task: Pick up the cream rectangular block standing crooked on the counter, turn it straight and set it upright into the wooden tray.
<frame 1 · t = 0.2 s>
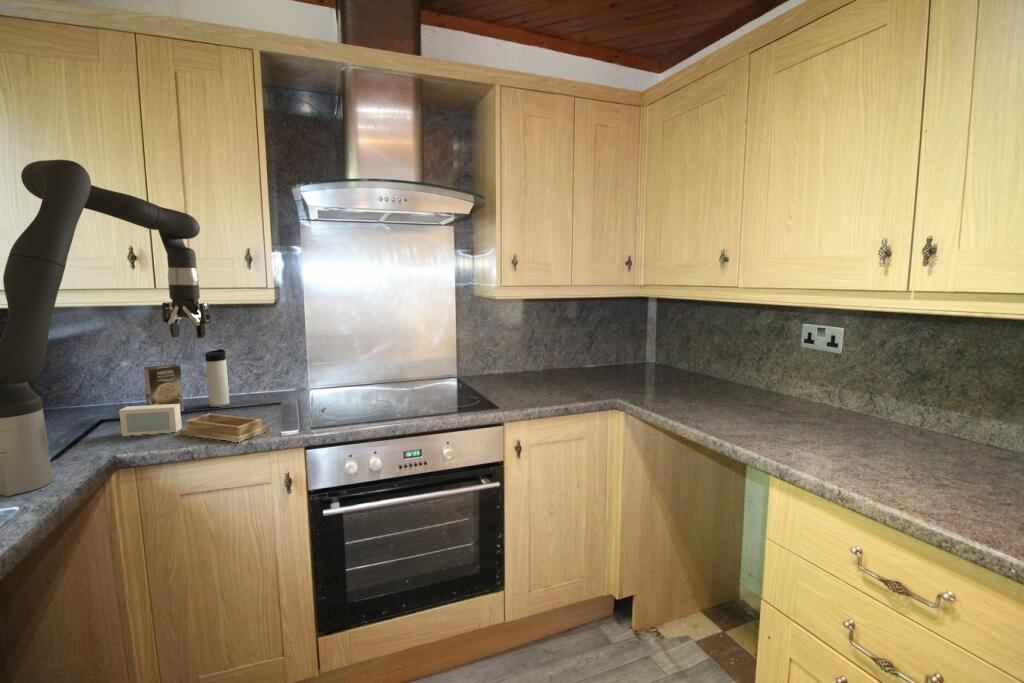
hand: (188, 337, 147), 28 cm above the worktop, tool pointing down, fingers open, 8 cm apart
wooden tray: (224, 433, 146), on the worktop
cream rectangular block: (152, 432, 146), on the worktop
coffee box: (166, 413, 166), on the worktop
travel mug: (220, 406, 175), on the worktop
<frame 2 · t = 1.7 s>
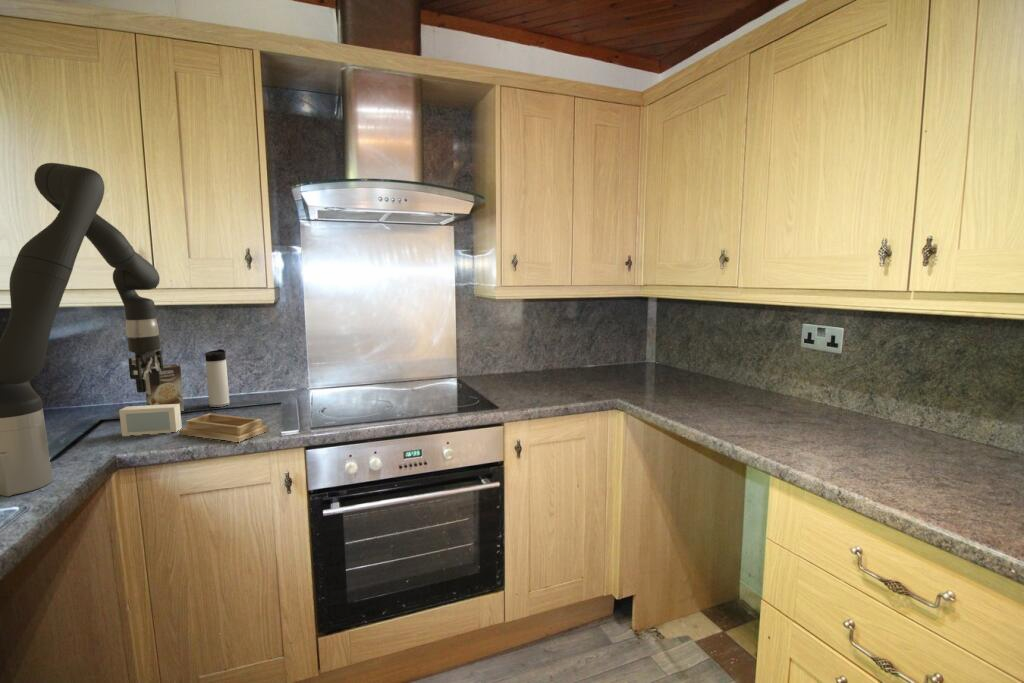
hand: (149, 388, 145), 13 cm above the worktop, tool pointing down, fingers open, 8 cm apart
nothing on the worktop moved.
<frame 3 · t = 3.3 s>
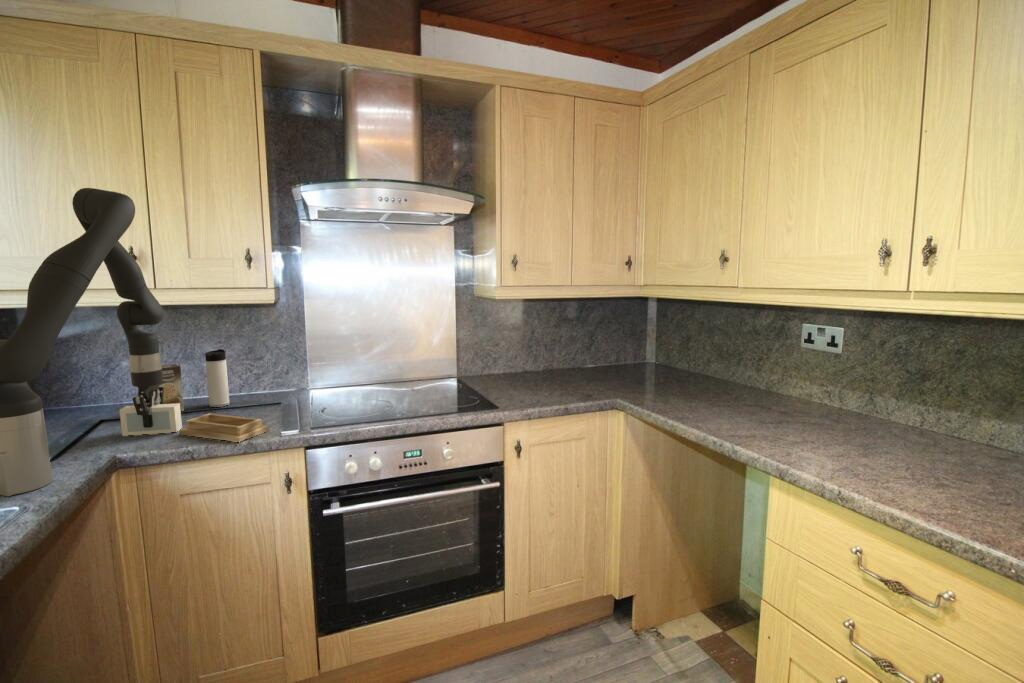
hand: (152, 424, 146), 2 cm above the worktop, tool pointing down, fingers closed on cream rectangular block, 4 cm apart
cream rectangular block: (153, 432, 146), on the worktop, touching gripper
everything else where it was.
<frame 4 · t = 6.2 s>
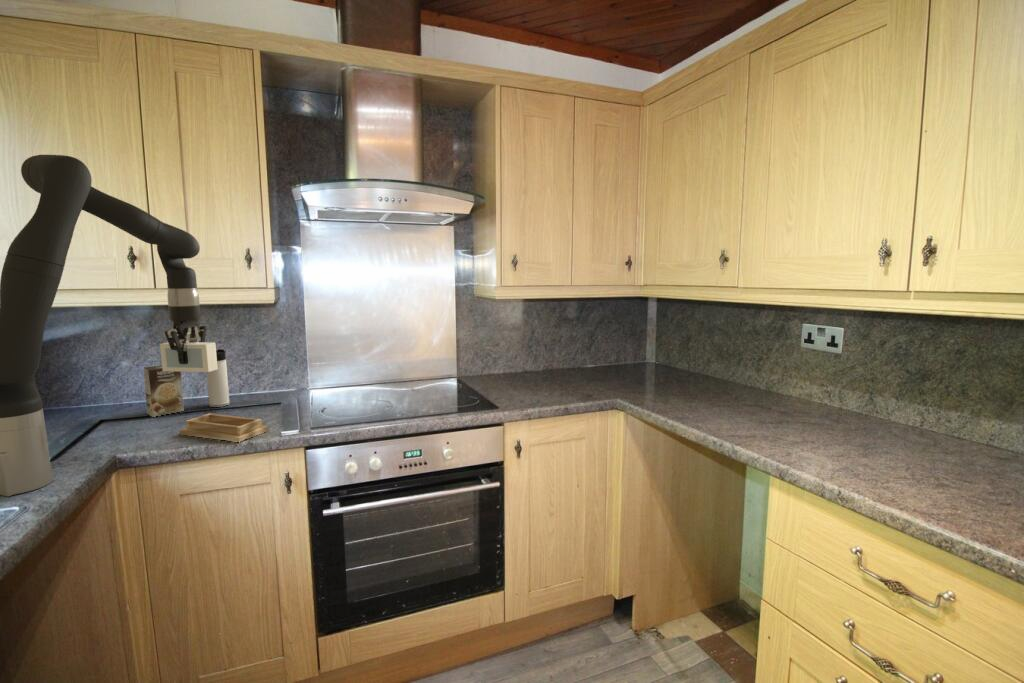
hand: (189, 362, 143), 21 cm above the worktop, tool pointing down, fingers closed on cream rectangular block, 4 cm apart
cream rectangular block: (190, 370, 144), point 19 cm above the worktop, touching gripper
everything else where it was.
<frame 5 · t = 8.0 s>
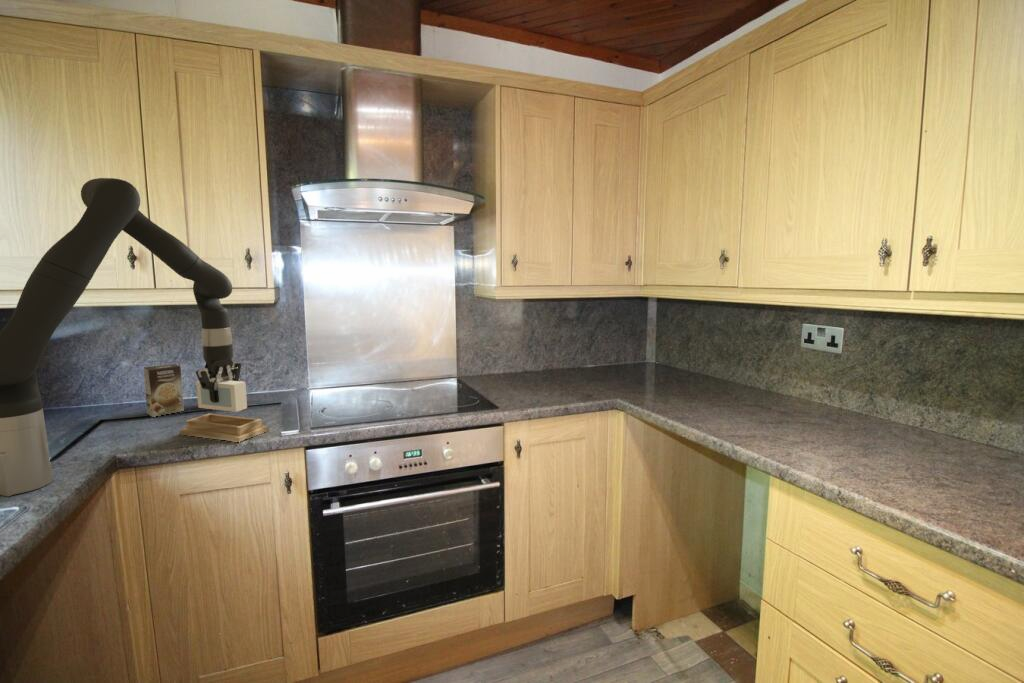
hand: (222, 400, 145), 10 cm above the worktop, tool pointing down, fingers closed on cream rectangular block, 4 cm apart
cream rectangular block: (222, 407, 145), point 8 cm above the worktop, touching gripper
everything else where it was.
when the fingers open (5 cm above the worktop, at t = 9.4 s): cream rectangular block drops 1 cm, resting on wooden tray.
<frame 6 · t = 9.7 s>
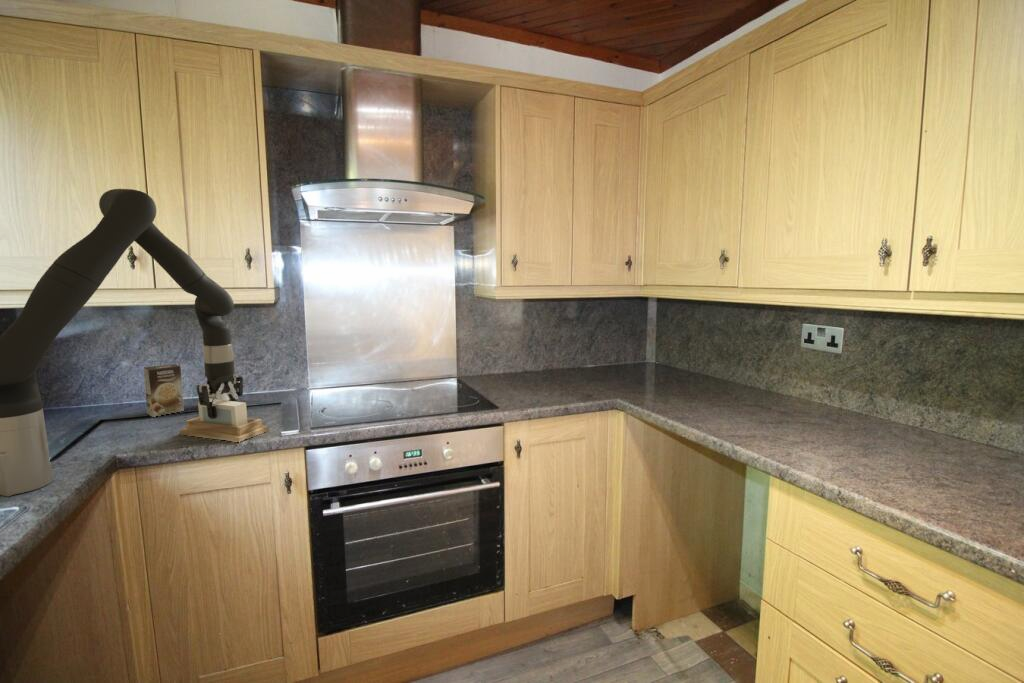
hand: (223, 414, 145), 6 cm above the worktop, tool pointing down, fingers open, 6 cm apart
cream rectangular block: (224, 428, 146), point 1 cm above the worktop, touching wooden tray
everything else where it was.
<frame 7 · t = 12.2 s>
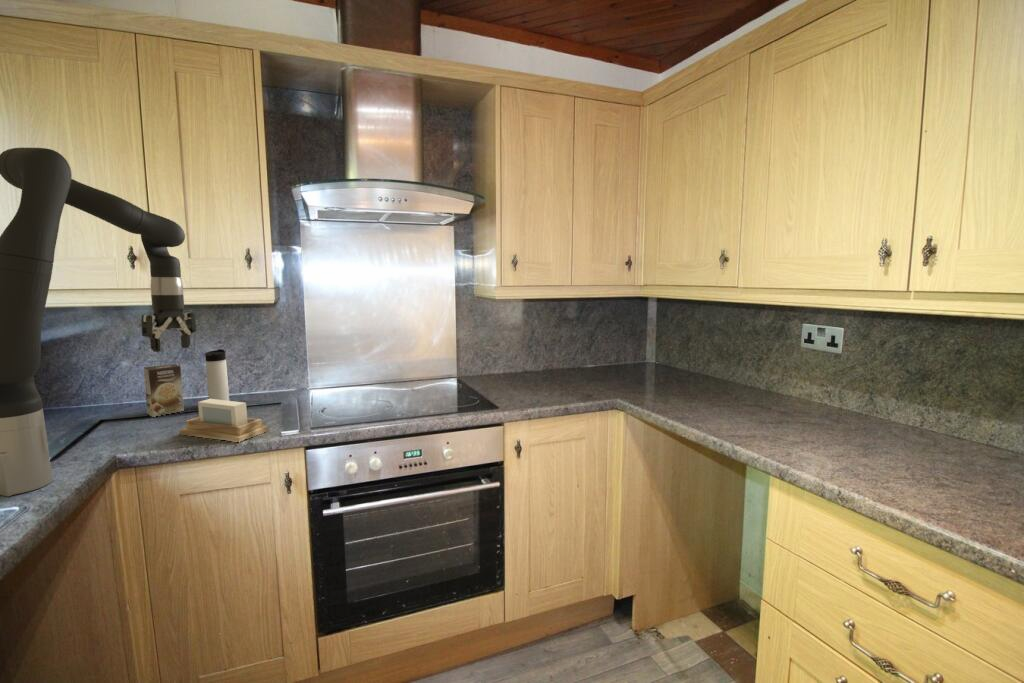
hand: (171, 349, 141), 25 cm above the worktop, tool pointing down, fingers open, 8 cm apart
nothing on the worktop moved.
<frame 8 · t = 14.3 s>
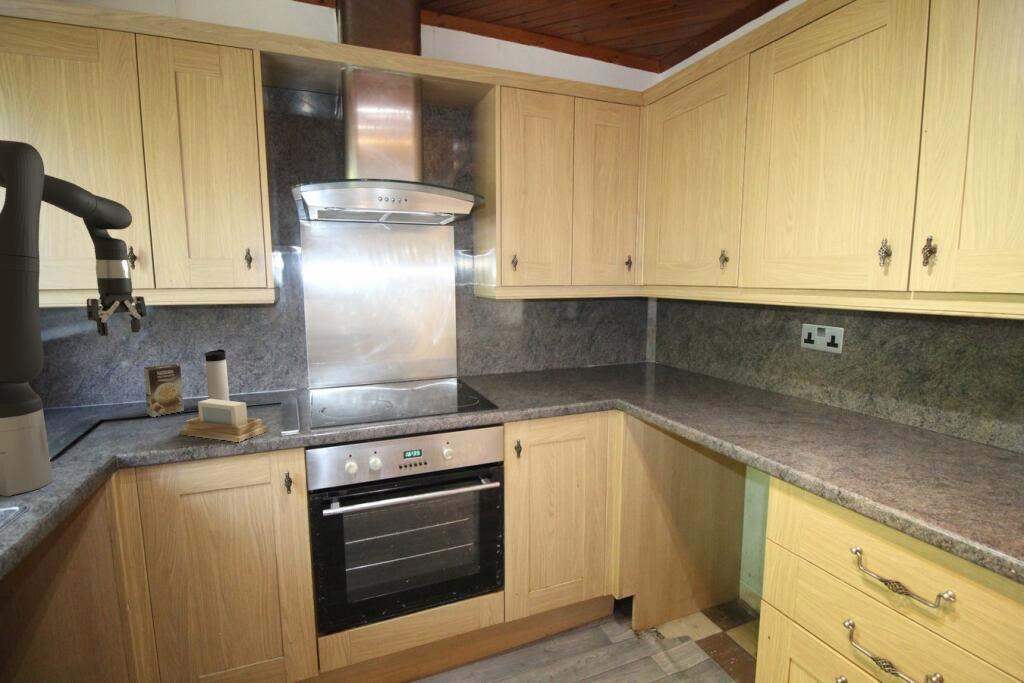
hand: (120, 333, 139), 30 cm above the worktop, tool pointing down, fingers open, 8 cm apart
nothing on the worktop moved.
at the end: cream rectangular block 0.2 cm off-centre on the wooden tray, point 1.5 cm above the wooden tray's base; cream rectangular block tilted 0°; the gripper is holding nothing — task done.
